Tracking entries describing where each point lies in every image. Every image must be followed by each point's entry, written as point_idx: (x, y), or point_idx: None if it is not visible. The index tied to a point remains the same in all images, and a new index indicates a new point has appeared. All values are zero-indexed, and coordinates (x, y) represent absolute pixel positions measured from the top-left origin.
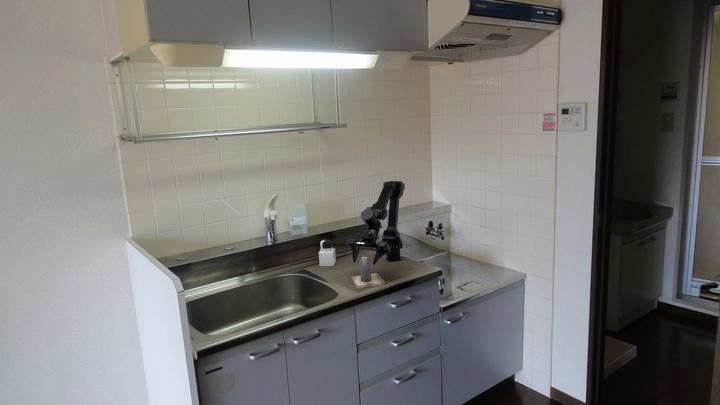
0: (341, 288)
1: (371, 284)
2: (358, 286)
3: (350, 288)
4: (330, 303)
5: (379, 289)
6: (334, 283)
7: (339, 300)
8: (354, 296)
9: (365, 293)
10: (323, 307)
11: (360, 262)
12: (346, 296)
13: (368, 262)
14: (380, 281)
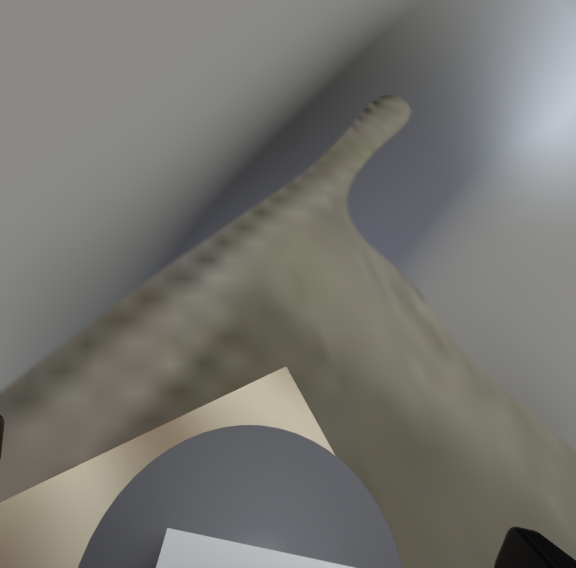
0: (426, 367)
1: (139, 440)
2: (275, 375)
3: (348, 372)
4: (379, 143)
5: (52, 366)
6: (557, 493)
7: (345, 173)
8: (264, 224)
9: (187, 274)
10: (393, 108)
11: (333, 464)
12: (322, 224)
13: (124, 501)
14: (9, 535)
